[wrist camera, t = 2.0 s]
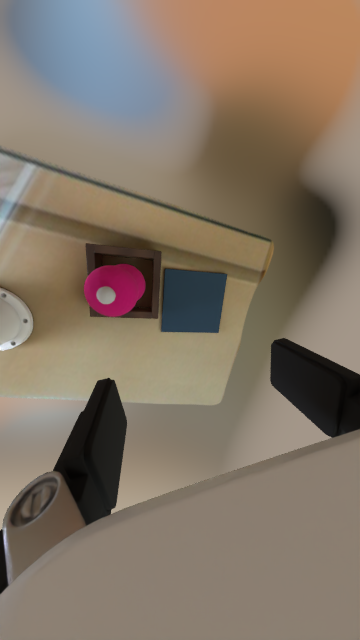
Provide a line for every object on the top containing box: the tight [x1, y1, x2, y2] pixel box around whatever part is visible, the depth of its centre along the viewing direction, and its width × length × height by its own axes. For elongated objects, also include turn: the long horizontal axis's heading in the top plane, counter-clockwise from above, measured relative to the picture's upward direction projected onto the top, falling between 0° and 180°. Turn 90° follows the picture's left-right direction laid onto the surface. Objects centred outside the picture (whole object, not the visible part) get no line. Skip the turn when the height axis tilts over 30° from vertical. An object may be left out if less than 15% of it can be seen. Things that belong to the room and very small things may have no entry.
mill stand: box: [86, 243, 161, 319], centre depth 33 cm, size 13×13×4 cm
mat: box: [162, 269, 227, 333], centre depth 38 cm, size 14×14×1 cm
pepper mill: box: [84, 264, 145, 317], centre depth 26 cm, size 7×7×20 cm
